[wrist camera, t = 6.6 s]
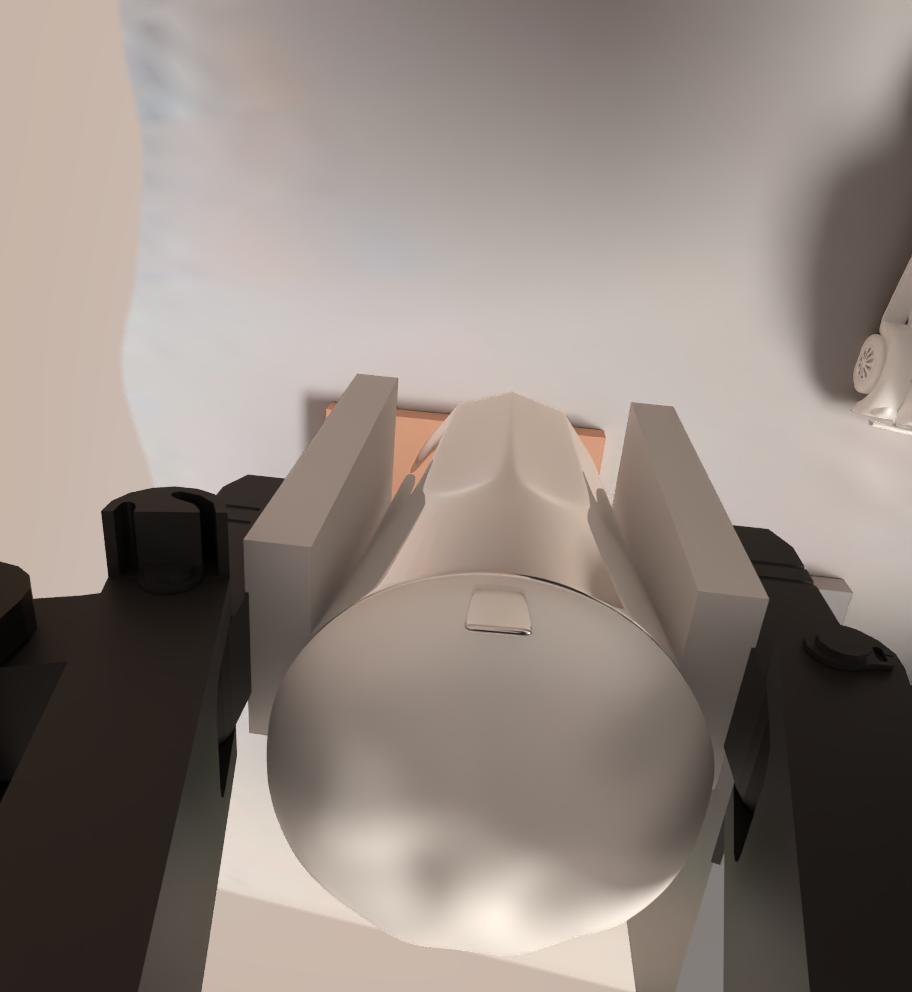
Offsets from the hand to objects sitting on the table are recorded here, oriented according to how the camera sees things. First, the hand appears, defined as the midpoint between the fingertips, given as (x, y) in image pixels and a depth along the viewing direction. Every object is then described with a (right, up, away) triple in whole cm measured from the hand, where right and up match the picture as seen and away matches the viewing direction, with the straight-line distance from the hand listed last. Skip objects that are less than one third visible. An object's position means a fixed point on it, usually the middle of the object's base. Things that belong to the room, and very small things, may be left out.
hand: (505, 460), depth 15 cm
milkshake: (0, 0, 0) cm, 1 cm away
